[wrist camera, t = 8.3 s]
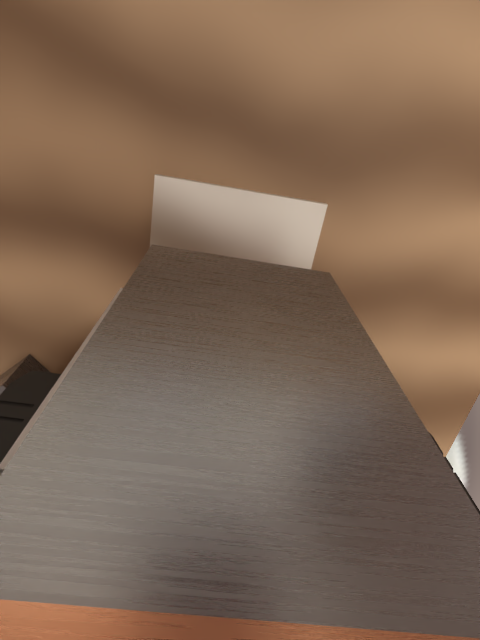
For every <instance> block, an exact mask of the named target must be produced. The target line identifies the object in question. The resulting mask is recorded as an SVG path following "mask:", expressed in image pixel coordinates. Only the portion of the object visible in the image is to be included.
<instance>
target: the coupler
mask: <svg viewBox="0 0 480 640" xmlns="http://www.w3.org/2000/svg"><path fill="white" fill-rule="evenodd" d="M0 640H480V515H479V513H478V512H477V510H476V508H475V507H474V505H473V504H472V502H471V500H470V499H469V497H468V495H467V494H466V492H465V491H464V489H463V487H462V486H461V484H460V483H459V481H458V479H457V478H456V476H455V474H454V473H453V471H452V470H451V468H450V466H449V465H448V463H447V461H446V460H445V458H444V457H443V455H442V453H441V452H440V450H439V449H438V447H437V445H436V444H435V442H434V440H433V439H432V437H431V436H430V434H429V432H428V431H427V429H426V428H425V426H424V424H423V423H422V421H421V419H420V418H419V416H418V415H417V413H416V411H415V410H414V408H413V406H412V405H411V403H410V402H409V400H408V398H407V397H406V395H405V394H404V392H403V390H402V389H401V387H400V385H399V384H398V382H397V381H396V379H395V377H394V376H393V374H392V372H391V371H390V369H389V368H388V366H387V364H386V363H385V361H384V360H383V358H382V356H381V355H380V353H379V351H378V350H377V348H376V347H375V345H374V343H373V342H372V340H371V338H370V337H369V335H368V334H367V332H366V330H365V329H364V327H363V326H362V324H361V322H360V321H359V319H358V317H357V316H356V314H355V313H354V311H353V309H352V308H351V306H350V305H349V303H348V301H347V300H346V298H345V296H344V295H343V293H342V292H341V290H340V288H339V287H338V285H337V283H336V282H335V280H334V279H333V277H332V275H331V274H330V273H329V272H323V271H317V270H311V269H304V268H298V267H292V266H286V265H279V264H273V263H267V262H261V261H254V260H248V259H242V258H235V257H229V256H223V255H217V254H210V253H204V252H198V251H192V250H185V249H179V248H173V247H167V246H160V245H154V244H152V245H151V247H150V248H149V250H148V251H147V253H146V254H145V256H144V257H143V259H142V260H141V262H140V264H139V265H138V267H137V268H136V270H135V271H134V273H133V274H132V276H131V277H130V279H129V280H128V282H127V283H126V285H125V286H124V288H123V289H122V291H121V293H120V294H119V296H118V297H117V299H116V300H115V302H114V303H113V305H112V306H111V308H110V309H109V311H108V312H107V314H106V315H105V317H104V318H103V320H102V321H101V323H100V325H99V326H98V328H97V329H96V331H95V332H94V334H93V335H92V337H91V338H90V340H89V341H88V343H87V344H86V346H85V347H84V349H83V350H82V352H81V354H80V355H79V357H78V358H77V360H76V361H75V363H74V364H73V366H72V367H71V369H70V370H69V372H68V373H67V375H66V376H65V378H64V379H63V381H62V383H61V384H60V386H59V387H58V389H57V390H56V392H55V393H54V395H53V396H52V398H51V399H50V401H49V402H48V404H47V405H46V407H45V408H44V410H43V412H42V413H41V415H40V416H39V418H38V419H37V421H36V422H35V424H34V425H33V427H32V428H31V430H30V431H29V433H28V434H27V436H26V437H25V439H24V440H23V442H22V444H21V445H20V447H19V448H18V450H17V451H16V453H15V454H14V456H13V457H12V459H11V460H10V462H9V463H8V465H7V466H6V468H5V469H4V471H3V473H2V474H1V476H0Z"/></svg>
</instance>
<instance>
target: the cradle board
mask: <svg viewBox="0 0 480 640" xmlns="http://www.w3.org/2000/svg"><path fill="white" fill-rule="evenodd" d="M152 244H154V245H160V246H167V247H173V248H179V249H185V250H192V251H198V252H204V253H210V254H217V255H223V256H229V257H235V258H242V259H248V260H254V261H261V262H267V263H273V264H279V265H286V266H292V267H298V268H304V269H311V270H317V271H323V272H329V273H330V274H331V275H332V277H333V279H334V280H335V282H336V283H337V285H338V287H339V288H340V290H341V292H342V293H343V295H344V296H345V298H346V300H347V301H348V303H349V305H350V306H351V308H352V309H353V311H354V313H355V314H356V316H357V317H358V319H359V321H360V322H361V324H362V326H363V327H364V329H365V330H366V332H367V334H368V335H369V337H370V338H371V340H372V342H373V343H374V345H375V347H376V348H377V350H378V351H379V353H380V355H381V356H382V358H383V360H384V361H385V363H386V364H387V366H388V368H389V369H390V371H391V372H392V374H393V376H394V377H395V379H396V381H397V382H398V384H399V385H400V387H401V389H402V390H403V392H404V394H405V395H406V397H407V398H408V400H409V402H410V403H411V405H412V406H413V408H414V410H415V411H416V413H417V415H418V416H419V418H420V419H421V421H422V423H423V424H424V426H425V428H426V429H427V431H428V432H429V433H430V434H431V435H432V436H433V437H434V439H435V441H436V442H437V444H438V445H439V447H440V449H441V450H442V452H443V457H446V455H447V453H448V451H449V449H450V448H451V446H452V444H453V442H454V440H455V438H456V436H457V435H458V433H459V431H460V429H461V427H462V425H463V423H464V421H465V420H466V418H467V416H468V414H469V412H470V410H471V408H472V407H473V404H474V403H475V401H476V399H477V397H478V395H479V393H480V0H0V375H2V374H3V373H4V372H6V371H7V370H8V369H10V368H11V367H13V366H14V365H15V364H17V363H18V362H19V361H21V360H22V359H23V358H25V357H26V356H28V355H29V354H31V355H32V356H33V357H34V358H35V359H36V360H38V361H39V362H40V363H41V364H42V365H43V366H44V367H45V368H46V369H48V370H49V371H50V372H51V373H57V374H62V373H63V371H64V370H65V368H66V367H67V365H68V364H69V363H70V361H71V360H72V358H73V357H74V355H75V354H76V352H77V351H78V349H79V348H80V347H81V345H82V344H83V342H84V341H85V339H86V338H87V336H88V335H89V333H90V332H91V330H92V329H93V328H94V326H95V325H96V323H97V322H98V320H99V319H100V317H101V316H102V314H103V313H104V311H105V310H106V309H107V307H108V306H109V304H110V303H111V301H112V300H113V298H114V297H115V295H116V294H117V293H118V291H119V290H120V288H124V286H125V285H126V283H127V282H128V280H129V279H130V277H131V276H132V274H133V273H134V271H135V270H136V268H137V267H138V265H139V264H140V262H141V260H142V259H143V257H144V256H145V254H146V253H147V251H148V250H149V248H150V247H151V245H152Z"/></svg>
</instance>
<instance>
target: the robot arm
mask: <svg viewBox="0 0 480 640" xmlns="http://www.w3.org/2000/svg"><path fill="white" fill-rule="evenodd" d="M122 289H123V288H120V290H119V291H118V293H117V294H116V295H115V297H114V298H113V300H112V301H111V303H110V304H109V306H108V307H107V309H106V310H105V311H104V313H103V314H102V316H101V317H100V319H99V320H98V322H97V323H96V325H95V326H94V328H93V329H92V330H91V332H90V333H89V335H88V336H87V338H86V339H85V341H84V342H83V344H82V345H81V347H80V348H79V349H78V351H77V352H76V354H75V355H74V357H73V358H72V360H71V361H70V363H69V364H68V365H67V367H66V368H65V370H64V371H63V373H62V374H57V373H49V372H41V371H33V370H32V371H30V372H29V373H27V374H25V375H23V376H22V377H20V378H18V379H16V380H15V381H13V382H11V383H10V384H9V385H8V386H7V388H6V389H5V390H4V391H3V392H2V393H1V395H0V476H1V474H2V473H3V471H4V469H5V468H6V466H7V465H8V463H9V462H10V460H11V459H12V457H13V456H14V454H15V453H16V451H17V450H18V448H19V447H20V445H21V444H22V442H23V440H24V439H25V437H26V436H27V434H28V433H29V431H30V430H31V428H32V427H33V425H34V424H35V422H36V421H37V419H38V418H39V416H40V415H41V413H42V412H43V410H44V408H45V407H46V405H47V404H48V402H49V401H50V399H51V398H52V396H53V395H54V393H55V392H56V390H57V389H58V387H59V386H60V384H61V383H62V381H63V379H64V378H65V376H66V375H67V373H68V372H69V370H70V369H71V367H72V366H73V364H74V363H75V361H76V360H77V358H78V357H79V355H80V354H81V352H82V350H83V349H84V347H85V346H86V344H87V343H88V341H89V340H90V338H91V337H92V335H93V334H94V332H95V331H96V329H97V328H98V326H99V325H100V323H101V321H102V320H103V318H104V317H105V315H106V314H107V312H108V311H109V309H110V308H111V306H112V305H113V303H114V302H115V300H116V299H117V297H118V296H119V294H120V293H121V291H122ZM429 434H430V433H429ZM430 436H431V437H432V439H433V440H434V442H435V444H436V445H437V447H438V449H439V450H440V452H441V453H442V455H443V452H442V450H441V449H440V447H439V445H438V444H437V442H436V441H435V439H434V437H433V436H432V435H431V434H430ZM444 458H445V460H446V461H447V463H448V465H449V466H450V468H451V470H452V471H453V468H452V466H451V465H450V463H449V461H448V460H447V458H446V457H444ZM454 474H455V476H456V478H457V479H458V481H459V483H460V484H461V486H462V487H463V489H464V491H465V492H466V494H467V495H468V497H469V499H470V500H471V502H472V504H473V505H474V507H475V508H476V510H477V512H478V513H479V515H480V511H479V509H478V508H477V506H476V505H475V503H474V501H473V500H472V498H471V496H470V495H469V493H468V492H467V490H466V488H465V487H464V485H463V484H462V482H461V480H460V479H459V477H458V476H457V474H456V473H454Z"/></svg>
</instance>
